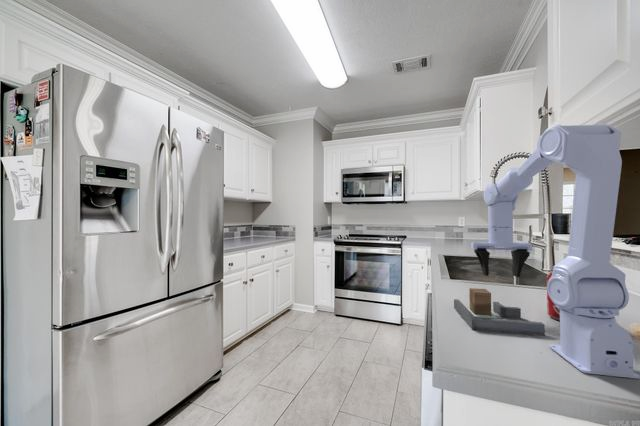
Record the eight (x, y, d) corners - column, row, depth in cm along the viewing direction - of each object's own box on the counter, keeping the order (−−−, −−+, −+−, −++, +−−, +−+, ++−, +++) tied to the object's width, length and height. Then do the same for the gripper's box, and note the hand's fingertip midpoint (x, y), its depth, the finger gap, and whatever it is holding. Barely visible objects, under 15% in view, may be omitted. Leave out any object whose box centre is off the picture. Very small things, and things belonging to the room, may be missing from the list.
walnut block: (491, 315, 70) (491, 292, 70) (474, 314, 71) (474, 292, 71) (485, 310, 74) (485, 288, 74) (469, 309, 75) (469, 288, 75)
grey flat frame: (544, 335, 59) (544, 324, 59) (471, 329, 62) (471, 318, 62) (511, 311, 74) (511, 302, 74) (454, 307, 77) (453, 299, 77)
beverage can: (586, 324, 65) (585, 275, 65) (557, 322, 66) (556, 274, 66) (568, 315, 71) (567, 270, 71) (541, 313, 72) (541, 269, 73)
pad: (497, 318, 69) (497, 317, 69) (471, 316, 70) (471, 315, 70) (488, 310, 75) (488, 309, 75) (464, 309, 76) (464, 308, 76)
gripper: (522, 226, 77) (522, 273, 77) (467, 226, 80) (467, 271, 80) (536, 227, 70) (537, 279, 70) (475, 227, 73) (476, 276, 73)
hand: (500, 275), depth 75 cm, fingers open, 7 cm apart
